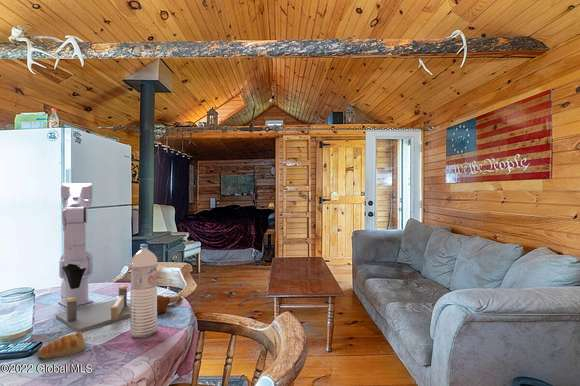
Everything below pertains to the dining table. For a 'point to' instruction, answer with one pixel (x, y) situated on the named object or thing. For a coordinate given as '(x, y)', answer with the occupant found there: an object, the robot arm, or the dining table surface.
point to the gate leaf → (117, 308)
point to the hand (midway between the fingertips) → (74, 288)
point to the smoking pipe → (165, 302)
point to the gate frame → (93, 313)
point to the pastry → (63, 346)
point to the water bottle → (143, 293)
